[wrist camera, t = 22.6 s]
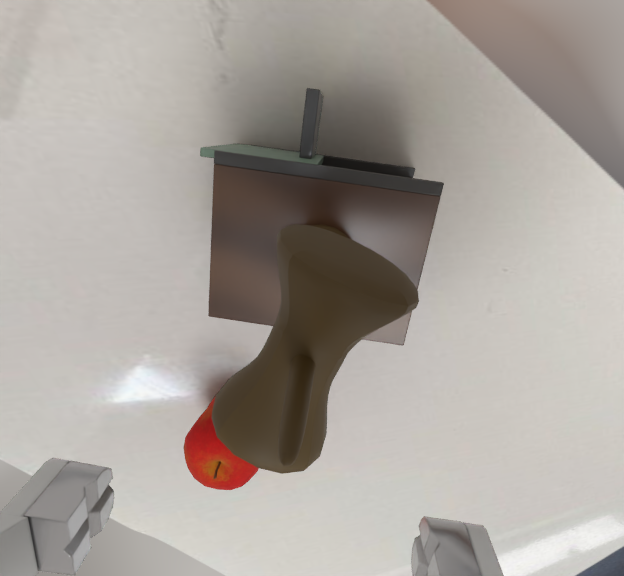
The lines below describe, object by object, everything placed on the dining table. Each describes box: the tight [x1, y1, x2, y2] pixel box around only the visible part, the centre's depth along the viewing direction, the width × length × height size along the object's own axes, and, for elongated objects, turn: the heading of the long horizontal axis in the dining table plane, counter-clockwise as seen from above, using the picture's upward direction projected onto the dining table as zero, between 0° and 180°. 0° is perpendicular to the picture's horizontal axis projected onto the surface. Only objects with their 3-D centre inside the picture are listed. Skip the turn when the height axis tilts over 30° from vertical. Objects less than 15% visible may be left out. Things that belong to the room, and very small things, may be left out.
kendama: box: [212, 224, 419, 473], centre depth 20 cm, size 6×10×20 cm, turn 156°
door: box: [200, 88, 324, 165], centre depth 32 cm, size 6×8×11 cm, turn 83°
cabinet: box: [209, 145, 444, 345], centre depth 35 cm, size 13×16×12 cm
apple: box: [184, 397, 258, 490], centre depth 45 cm, size 9×8×12 cm
